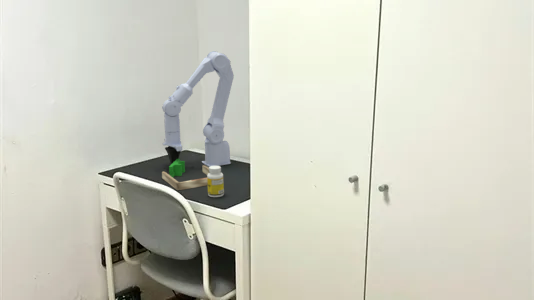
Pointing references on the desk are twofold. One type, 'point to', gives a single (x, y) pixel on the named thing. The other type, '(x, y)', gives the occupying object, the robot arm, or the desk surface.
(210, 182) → the supplement bottle
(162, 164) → the desk surface
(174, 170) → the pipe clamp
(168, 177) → the birch bay
